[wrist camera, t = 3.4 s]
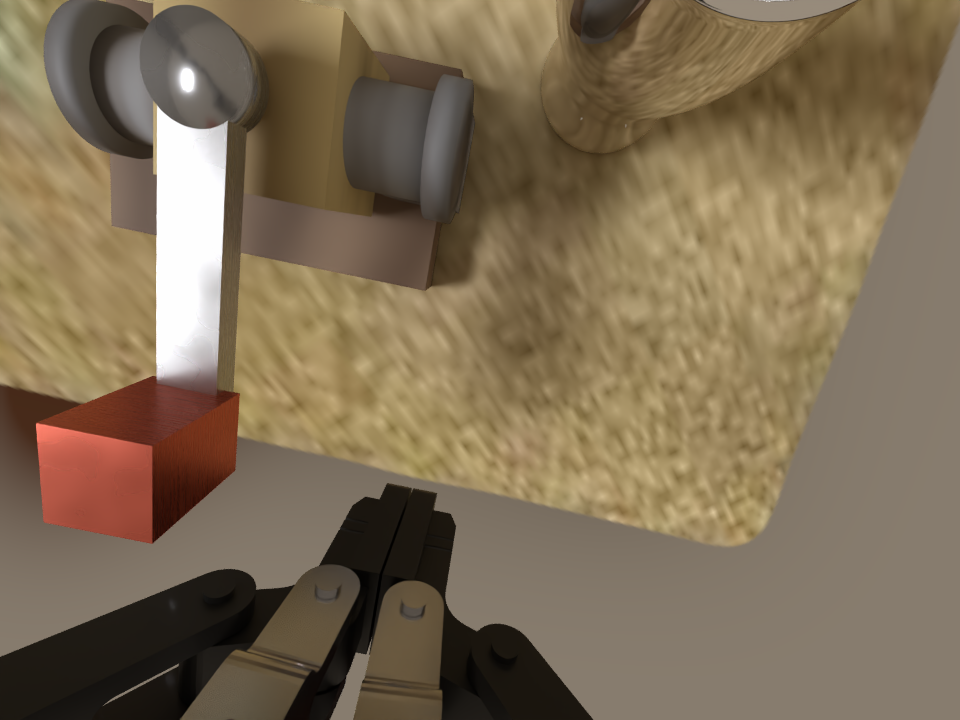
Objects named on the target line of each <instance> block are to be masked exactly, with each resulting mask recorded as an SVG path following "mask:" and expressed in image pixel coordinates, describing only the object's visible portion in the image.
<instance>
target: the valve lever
mask: <svg viewBox="0 0 960 720" xmlns="http://www.w3.org/2000/svg"><path fill="white" fill-rule="evenodd" d="M139 60H140V69H141V74H142V78H143V81H144V84H145V86H146V89H147V91H148V93H149V95H150V96H151V98H152V99H153V101H154V102H155V104H156V105H157V377H155V376H152V377H149V378H147V379H144V380H142V381H139V382H137V383H134V384H132V385H129V386H127V387H124V388H122V389H119V390H117V391H114V392H112V393H109V394H107V395H104V396H102V397H100V398H97V399H95V400H92V401H90V402H87V403H85V404H82V405H80V406H77V407H75V408H72V409H70V410H68V411H65V412H62V413H60V414H57V415H55V416H52V417H50V418H48V419H45V420H42V421H40V422H37V423H36V429H37V441H38V454H39V466H40V479H41V492H42V506H43V519H44V522H45V523H50V524H55V525H60V526H65V527H70V528H75V529H81V530H85V531H90V532H95V533H100V534H106V535H110V536H116V537H121V538H126V539H131V540H136V541H141V542H146V543H151V544H152V543H154V542H155V541H156V540H157V539H158V538H159V537H160V536H162V535H163V534H164V533H165V532H166V531H167V530H168V529H170V528H171V527H172V526H173V525H174V524H175V523H176V522H177V521H179V520H180V519H181V518H182V517H183V516H184V515H185V514H187V513H188V512H189V511H190V510H191V509H192V508H193V507H194V506H196V504H198V503H199V502H200V501H201V500H202V499H203V498H205V497H206V496H207V495H208V494H209V493H210V492H211V491H212V490H213V489H215V488H216V487H217V486H218V485H219V484H220V483H222V482H223V480H225V479H226V478H227V477H228V476H229V475H231V474H232V473H233V472H234V471H235V465H236V449H237V448H236V447H237V431H238V414H239V396H240V393H235V392H233V387H234V368H235V349H236V330H237V311H238V292H239V273H240V254H241V234H242V215H243V196H244V177H245V158H246V139H247V133H248V132H249V131H250V130H252V129H253V128H254V127H255V126H256V125H257V124H258V123H259V121H260V120H261V119H262V117H263V115H264V113H265V110H266V108H267V104H268V99H269V80H268V75H267V71H266V68H265V65H264V63H263V61H262V59H261V57H260V55H259V53H258V52H257V50H256V49H255V48H254V46H253V45H252V44H251V43H250V42H249V41H248V40H247V39H246V38H245V37H243V36H242V35H241V34H240V33H238V32H237V31H236V30H234V29H233V28H232V27H231V26H229V25H228V24H227V23H225V22H224V21H223V20H222V19H220V18H219V17H218V16H217V15H215V14H213V13H212V12H210V11H208V10H206V9H204V8H201V7H198V6H194V5H176V6H172V7H169V8H167V9H165V10H163V11H161V12H160V13H159V14H157V15H156V16H155V17H154V18H153V19H152V20H151V22H150V23H149V25H148V26H147V28H146V30H145V32H144V34H143V37H142V40H141V45H140V54H139Z"/></svg>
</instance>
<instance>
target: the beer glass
mask: <svg viewBox="0 0 960 720" xmlns="http://www.w3.org/2000/svg"><path fill="white" fill-rule="evenodd" d="M860 1H861V0H556V16H557V27H558V38H557V39H556V41H555V42H554V44H553V46H552V48H551V49H550V51H549V54H548V56H547V59H546V61H545V65H544V68H543V73H542V79H541V97H542V103H543V108H544V111H545V114H546V116H547V119H548V121H549V123H550V125H551V126H552V128H553V129H554V131H555V132H556V133H557V134H558V135H559V137H560V138H562V139H563V140H564V141H565V142H566V143H568V144H569V145H571V146H572V147H574V148H576V149H579V150H581V151H585V152H589V153H598V154H603V153H611V152H615V151H618V150H621V149H623V148H626V147H628V146H629V145H631V144H633V143H634V142H636V141H637V140H639V139H640V138H641V137H643V136H644V135H645V134H646V133H647V132H648V131H649V130H650V129H651V128H652V126H653V125H654V124H655V123H656V121H657V120H658V119H659V118H664V117H669V116H673V115H677V114H681V113H684V112H687V111H690V110H693V109H696V108H698V107H701V106H704V105H707V104H710V103H712V102H714V101H716V100H719V99H721V98H722V97H724V96H726V95H728V94H730V93H732V92H733V91H735V90H737V89H739V88H741V87H743V86H744V85H746V84H748V83H750V82H752V81H753V80H755V79H756V78H758V77H760V76H761V75H763V74H764V73H766V72H767V71H769V70H770V69H771V68H773V67H774V66H776V65H777V64H779V63H780V62H782V61H783V60H785V59H786V58H788V57H789V56H791V55H792V54H793V53H795V52H796V51H797V50H799V49H800V48H801V47H803V46H804V45H805V44H807V43H808V42H809V41H811V40H812V39H813V38H814V37H816V36H817V35H818V34H820V33H821V32H822V31H824V30H825V29H826V28H828V27H829V26H830V25H831V24H833V23H834V22H835V21H836V20H838V19H839V18H840V17H841V16H843V15H844V14H845V13H846V12H848V11H849V10H850V9H851V8H853V7H854V6H855V5H856V4H858V3H859V2H860Z"/></svg>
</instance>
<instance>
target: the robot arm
mask: <svg viewBox="0 0 960 720" xmlns="http://www.w3.org/2000/svg"><path fill="white" fill-rule="evenodd" d="M411 491H412V493H411ZM436 497H437V493H434V492H429V491H424V490H419V489H415V488H414V489H413V490H412V488H409V487H404V486H399V485H394V484H389V483H387V485H386V487H385V489H384V491H383V493H382V495H381V498H380V499H374V498H370V497H364V498H363V499H361V500H360V501H359V502H357V503H356V504H354V505H353V506H352V508H351V509H350V511H349V513H348V515H347V517H346V519H345V520H344V522H343V524H342V526H341V527H340V530H339V531H338V533H337V535H336V537H335V538H334V540H333V542H332V543H331V545H330V547H329V549H328V551H327V552H326V554H325V556H324V558H323V560H322V561H321V563H320V565H319V566H318V567H315V568H313V569H310V570H309V571H307V572H306V573H305V574H303V575H302V576H301V578H300V579H299V580H298V581H297V583H296V584H295V585H293V586H289V587H284V588H274V589H259V590H256V584H255V581H254V579H253V578H252V577H251V576H250V575H249V574H247V573H245V572H243V571H240V570H235V569H224V570H217V571H213V572H210V573H207V574H204V575H202V576H199V577H197V578H195V579H192V580H189V581H187V582H184V583H182V584H179V585H177V586H175V587H172V588H170V589H167V590H165V591H162V592H160V593H157V594H155V595H152V596H150V597H147V598H145V599H142V600H140V601H137V602H135V603H132V604H130V605H127V606H125V607H123V608H120V609H118V610H115V611H113V612H110V613H108V614H105V615H103V616H100V617H98V618H95V619H93V620H90V621H88V622H85V623H83V624H81V625H78V626H76V627H73V628H71V629H68V630H66V631H64V632H61V633H58V634H56V635H53V636H51V637H48V638H46V639H43V640H41V641H38V642H36V643H33V644H31V645H29V646H26V647H24V648H21V649H19V650H16V651H14V652H11V653H9V654H7V655H4V656H1V657H0V720H330V718H331V716H332V714H333V711H334V709H335V707H336V705H337V702H338V700H339V698H340V695H341V693H342V691H343V689H344V686H345V683H346V675H347V674H348V672H349V670H350V667H351V664H352V662H353V659H354V656H355V653H356V652H357V653H362V654H367V651H368V647H369V645H370V641H371V638H372V641H371V647H370V653H369V655H370V657H369V661H368V666H367V670H366V674H365V678H364V680H363V681H362V685H361V689H360V693H359V697H358V702H357V706H356V710H355V714H354V718H353V720H593V719H592V718H591V716H590V715H589V714H588V713H587V712H586V710H585V709H584V708H583V707H582V705H581V704H580V703H579V702H578V700H577V699H576V698H575V697H574V695H573V694H572V693H571V692H570V690H569V689H568V688H567V687H566V685H564V683H563V682H562V681H561V679H560V678H559V677H558V676H557V674H556V673H555V672H554V671H553V670H552V668H551V667H550V666H549V665H548V663H547V662H546V661H545V659H544V658H543V657H542V656H541V654H540V653H539V652H538V651H537V650H536V649H535V647H534V646H533V645H532V643H531V642H530V641H529V640H528V639H527V637H526V636H525V635H524V634H522V633H521V632H520V631H518V630H517V629H515V628H513V627H510V626H508V625H504V624H490V625H487V626H484V627H483V628H481V629H480V630H479V631H475V630H473V629H471V628H470V627H468V626H466V625H464V624H463V623H461V622H460V621H458V620H457V619H456V618H455V617H454V616H453V615H452V613H451V612H450V610H449V609H448V606H447V604H446V599H445V592H446V585H447V580H448V573H449V567H450V561H451V554H452V548H453V541H454V536H455V529H456V525H455V523H454V520H453V518H452V516H451V514H449V513H444V512H439V511H434V507H435V502H436ZM177 664H179V666H178V667H177V668H174V669H172V670H171V671H169V672H167V673H165V674H163V675H161V676H159V677H157V678H155V679H153V680H151V681H150V682H148V683H146V684H144V685H142V686H140V687H138V688H136V689H134V690H132V691H130V692H129V693H127V694H125V695H123V696H121V697H119V698H117V699H115V700H113V701H111V702H109V703H108V704H106V705H104V704H105V703H107V702H108V701H109V700H110V699H112V698H114V697H115V696H117V695H119V694H121V693H123V692H125V691H127V690H129V689H131V688H132V687H134V686H136V685H138V684H140V683H142V682H144V681H146V680H147V679H150V678H152V677H153V676H155V675H157V674H159V673H161V672H163V671H165V670H167V669H169V668H171V667H173V666H175V665H177ZM103 705H104V706H103Z"/></svg>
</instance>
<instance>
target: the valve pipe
mask: <svg viewBox="0 0 960 720" xmlns="http://www.w3.org/2000/svg"><path fill="white" fill-rule="evenodd" d="M176 5H194V6H198V7H201V8H204V9H206V10H208V11H210V12H212V13H213V14H215V15H217V16H218V17H219V18H220V19H222V20H223V21H224V22H225V23H227V24H228V25H229V26H231V27H232V28H233V29H234V30H236V31H237V32H238V33H240V34H241V35H242V36H243V37H245V38H246V39H247V40H248V41H249V42H250V43H251V44H252V45H253V46H254V48H255V49H256V50H257V52H258V53H259V55H260V57H261V59H262V61H263V63H264V65H265V68H266V71H267V75H268V80H269V99H268V104H267V108H266V110H265V113H264V115H263V117H262V119H261V120H260V121H259V123H258V124H257V125H256V126H255V127H254V128H253V129H252V130H250V131H249V132H248V133H247V139H246V158H245V177H244V196H243V215H242V234H241V253H245V254H250V255H255V256H260V257H265V258H270V259H274V260H279V261H284V262H289V263H294V264H299V265H303V266H308V267H313V268H318V269H323V270H328V271H332V272H337V273H342V274H347V275H352V276H357V277H362V278H366V279H371V280H376V281H381V282H386V283H391V284H395V285H400V286H405V287H410V288H415V289H420V290H427V289H428V288H429V287H431V283H432V277H433V271H434V265H435V259H436V253H437V247H438V241H439V236H440V230H441V224H442V223H447V224H450V223H451V221H452V219H453V217H454V214H455V212H456V213H459V210H460V205H461V199H462V193H463V188H464V182H465V177H466V171H467V165H468V160H469V154H470V149H471V143H472V137H473V132H474V126H475V120H474V116H473V102H474V85H473V81H472V80H470V79H466V78H464V77H463V73H462V70H461V69H456V68H452V67H447V66H442V65H438V64H433V63H428V62H424V61H419V60H414V59H409V58H405V57H400V56H395V55H391V54H386V53H381V52H377V51H372V50H371V49H370V47H369V46H368V44H367V43H366V41H365V40H364V38H363V37H362V35H361V34H360V33H359V31H358V30H357V28H356V27H355V25H354V24H353V22H352V21H351V19H350V18H349V16H348V15H347V14H346V12H345V11H344V10H341V9H336V8H332V7H327V6H322V5H318V4H313V3H308V2H304V1H299V0H153V4H151V3H147V2H142V1H137V0H106V2H104V1H99V0H69V1H67V2H65V3H64V4H62V5H61V6H60V7H59V8H58V9H57V10H56V11H55V13H54V14H53V15H52V17H51V19H50V21H49V24H48V26H47V30H46V34H45V40H44V62H45V69H46V74H47V79H48V82H49V85H50V88H51V91H52V94H53V96H54V98H55V101H56V103H57V105H58V107H59V108H60V110H61V112H62V114H63V115H64V117H65V118H66V120H67V121H68V123H69V124H70V125H71V126H72V128H73V129H74V130H75V131H76V132H77V133H78V134H79V135H80V136H81V137H82V138H83V139H84V140H86V141H87V142H88V143H90V144H91V145H93V146H94V147H96V148H98V149H100V150H102V151H105V152H108V153H110V173H111V215H112V226H114V227H119V228H124V229H129V230H134V231H139V232H144V233H148V234H153V235H157V105H156V104H155V102H154V101H153V99H152V98H151V96H150V95H149V93H148V91H147V89H146V86H145V84H144V81H143V78H142V74H141V69H140V60H139V54H140V45H141V40H142V37H143V34H144V32H145V30H146V28H147V26H148V25H149V23H150V22H151V20H152V19H153V18H154V17H155V16H156V15H157V14H159V13H160V12H161V11H163V10H165V9H167V8H169V7H172V6H176Z"/></svg>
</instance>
